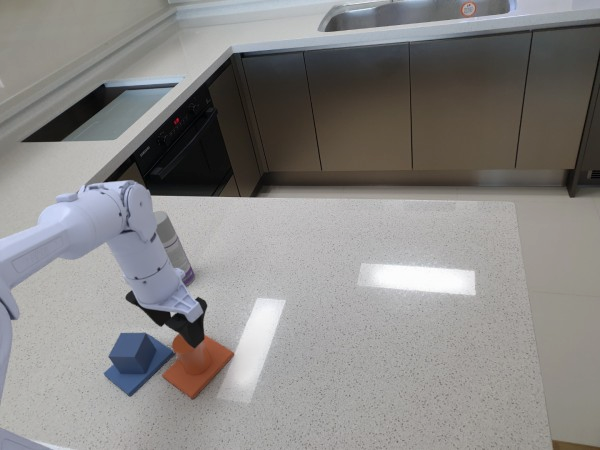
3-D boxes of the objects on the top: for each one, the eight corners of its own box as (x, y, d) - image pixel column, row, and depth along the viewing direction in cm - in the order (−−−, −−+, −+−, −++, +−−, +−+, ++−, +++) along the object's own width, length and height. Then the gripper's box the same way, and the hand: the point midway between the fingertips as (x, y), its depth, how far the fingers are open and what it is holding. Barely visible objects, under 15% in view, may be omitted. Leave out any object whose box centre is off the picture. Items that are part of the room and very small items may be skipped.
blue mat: (130, 397, 70) (128, 394, 69) (105, 376, 74) (103, 373, 73) (174, 353, 75) (173, 350, 74) (149, 336, 79) (147, 333, 78)
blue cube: (145, 374, 72) (134, 356, 69) (120, 373, 73) (107, 356, 70) (156, 350, 75) (146, 332, 72) (131, 350, 76) (120, 332, 73)
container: (170, 275, 90) (141, 215, 81) (193, 267, 91) (166, 207, 82) (172, 291, 87) (141, 230, 78) (196, 283, 87) (168, 221, 78)
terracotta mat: (192, 399, 67) (190, 396, 67) (163, 378, 71) (161, 375, 71) (234, 355, 73) (233, 352, 72) (205, 337, 76) (203, 334, 76)
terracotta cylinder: (196, 380, 69) (184, 358, 66) (178, 367, 72) (165, 345, 68) (217, 358, 72) (206, 336, 68) (198, 347, 74) (187, 324, 71)
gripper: (205, 262, 57) (234, 332, 65) (137, 230, 65) (171, 296, 73) (161, 299, 53) (198, 369, 61) (95, 260, 61) (135, 326, 69)
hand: (181, 331), depth 67 cm, fingers open, 7 cm apart
